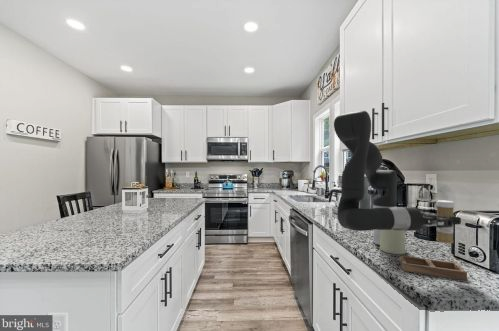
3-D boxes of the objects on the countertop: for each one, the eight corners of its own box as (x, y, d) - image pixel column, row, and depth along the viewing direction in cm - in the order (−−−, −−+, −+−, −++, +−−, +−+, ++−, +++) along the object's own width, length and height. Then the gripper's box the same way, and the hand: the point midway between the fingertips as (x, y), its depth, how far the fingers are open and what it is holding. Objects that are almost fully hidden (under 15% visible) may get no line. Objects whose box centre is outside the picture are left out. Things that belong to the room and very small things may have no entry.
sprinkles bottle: (437, 239, 83) (437, 199, 84) (454, 241, 80) (454, 200, 80) (435, 241, 80) (435, 200, 80) (453, 245, 77) (453, 202, 77)
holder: (399, 262, 89) (399, 255, 89) (456, 269, 82) (456, 262, 82) (403, 270, 81) (403, 263, 81) (467, 280, 74) (466, 272, 74)
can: (393, 246, 107) (392, 218, 107) (411, 253, 98) (410, 223, 98) (374, 247, 105) (374, 219, 105) (391, 255, 96) (391, 224, 96)
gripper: (417, 211, 73) (473, 211, 73) (388, 204, 87) (436, 204, 87) (417, 236, 73) (473, 236, 73) (388, 225, 87) (436, 225, 87)
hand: (452, 219), depth 80 cm, fingers closed on sprinkles bottle, 4 cm apart
